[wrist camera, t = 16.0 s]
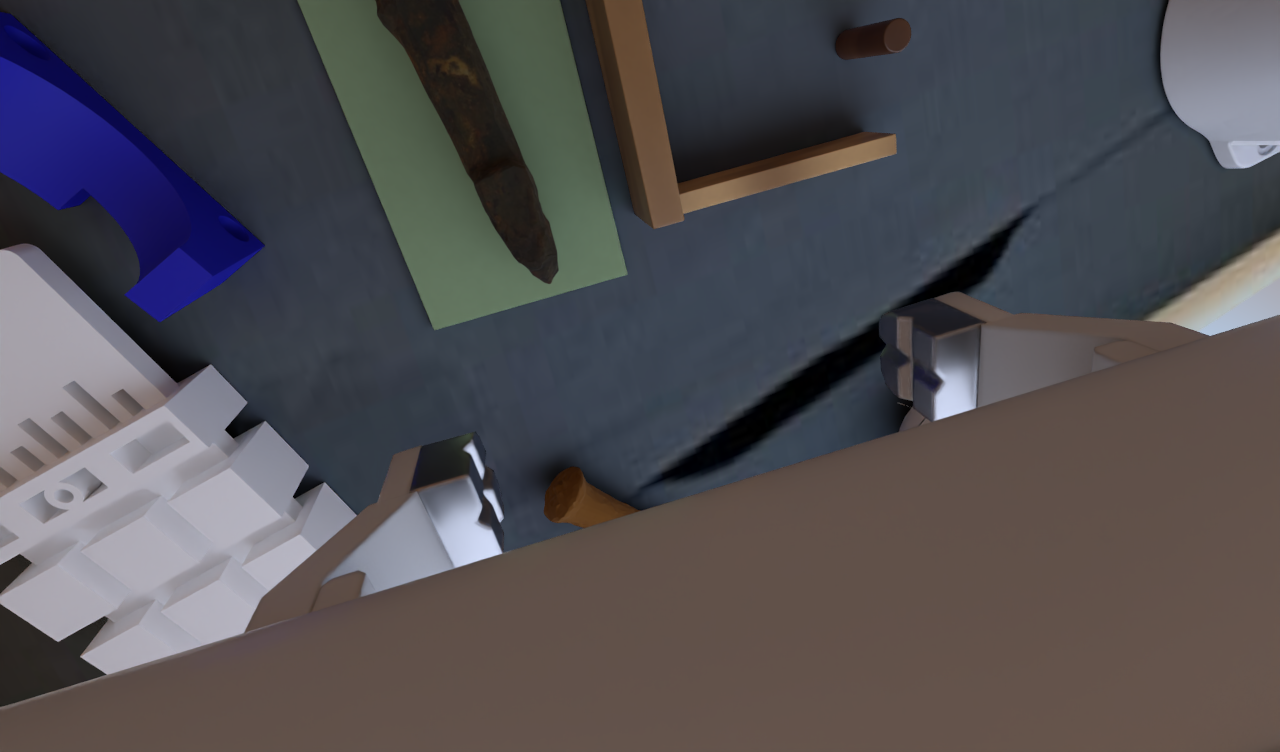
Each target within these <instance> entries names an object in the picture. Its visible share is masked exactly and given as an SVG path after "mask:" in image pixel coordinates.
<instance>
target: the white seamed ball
mask: <svg viewBox="0 0 1280 752" xmlns="http://www.w3.org/2000/svg"><path fill="white" fill-rule="evenodd" d="M897 403H898V402H897ZM899 404H901V403H899ZM903 405H904V404H903ZM908 407H909V406H908ZM929 422H930V421H929V420H928V419H926V418H925V417H924V416H922V415H921V414H920V413H918V412H917V411H916V410H914V409H913V407H912V408H911V410H910V411H909V412H908V413H907V415H906V416H905V418H904V420H903V422H902V424H901V427H900V429H899V432H900V431H903V430H907V429H910V428H913V427H916V426H920V425H923V424H926V423H929Z"/></svg>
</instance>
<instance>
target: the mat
mask: <svg viewBox="0 0 1280 752" xmlns="http://www.w3.org/2000/svg"><path fill="white" fill-rule="evenodd" d="M297 1H298V3H299V6H300V8H301V10H302V13H303V15H304V18H305V20H306V23H307V25H308V27H309V30H310V32H311V35H312V37H313V39H314V42H315V44H316V47H317V49H318V51H319V54H320V56H321V59H322V61H323V64H324V66H325V68H326V71H327V73H328V76H329V78H330V80H331V83H332V85H333V88H334V90H335V92H336V95H337V97H338V100H339V102H340V105H341V107H342V109H343V112H344V114H345V117H346V119H347V121H348V124H349V126H350V129H351V131H352V133H353V136H354V138H355V141H356V143H357V146H358V148H359V150H360V153H361V155H362V158H363V160H364V162H365V165H366V167H367V170H368V172H369V174H370V177H371V179H372V182H373V184H374V187H375V189H376V191H377V194H378V196H379V199H380V201H381V203H382V206H383V208H384V211H385V213H386V215H387V218H388V220H389V223H390V225H391V228H392V230H393V232H394V235H395V237H396V240H397V242H398V244H399V247H400V249H401V252H402V254H403V256H404V259H405V261H406V264H407V266H408V269H409V271H410V273H411V276H412V278H413V281H414V283H415V285H416V288H417V290H418V293H419V295H420V297H421V300H422V302H423V305H424V307H425V310H426V312H427V314H428V317H429V319H430V322H431V324H432V326H433V329H434V330H437V329H440V328H444V327H447V326H451V325H454V324H458V323H461V322H465V321H468V320H472V319H475V318H479V317H482V316H485V315H489V314H492V313H496V312H499V311H503V310H506V309H510V308H513V307H517V306H520V305H524V304H527V303H530V302H534V301H537V300H541V299H544V298H548V297H551V296H555V295H558V294H562V293H565V292H569V291H572V290H576V289H579V288H582V287H586V286H589V285H593V284H596V283H600V282H603V281H607V280H610V279H614V278H617V277H621V276H624V275H627V270H626V266H625V262H624V258H623V254H622V250H621V246H620V242H619V238H618V234H617V230H616V226H615V221H614V217H613V213H612V209H611V205H610V201H609V197H608V193H607V189H606V185H605V181H604V177H603V173H602V169H601V165H600V161H599V157H598V153H597V148H596V144H595V140H594V136H593V132H592V128H591V124H590V120H589V116H588V112H587V108H586V104H585V100H584V96H583V92H582V88H581V84H580V80H579V75H578V71H577V67H576V63H575V59H574V55H573V51H572V47H571V43H570V39H569V35H568V31H567V27H566V23H565V19H564V15H563V11H562V7H561V2H560V0H459V2H460V5H461V7H462V9H463V12H464V14H465V16H466V19H467V21H468V23H469V25H470V28H471V30H472V33H473V36H474V38H475V41H476V43H477V45H478V48H479V50H480V52H481V55H482V57H483V59H484V62H485V64H486V67H487V69H488V71H489V74H490V77H491V79H492V82H493V85H494V87H495V90H496V92H497V95H498V98H499V100H500V102H501V105H502V107H503V109H504V112H505V114H506V117H507V119H508V121H509V124H510V126H511V129H512V131H513V133H514V136H515V138H516V141H517V143H518V146H519V148H520V151H521V154H522V156H523V159H524V161H525V164H526V165H527V167H528V169H529V171H530V172H531V174H532V176H533V178H534V181H535V184H536V187H537V189H538V197H539V202H540V204H541V208H542V211H543V213H544V215H545V217H546V218H547V219H548V221H549V222H550V227H551V231H552V234H553V238H554V241H555V245H556V249H557V257H558V268H559V271H558V272H557V274H556V275H555V277H554V278H553V280H552V283H551V284H547V283H544V282H542V281H541V280H540V279H538V278H536V277H535V276H533V275H532V274H531V272H530V271H529V270H528V269H527V268H526V267H525V266H524V265H522V264H521V263H518V261H517V260H516V259H515V258H514V257H513V255H512V254H511V252H510V250H509V249H508V248H507V246H506V245H505V243H504V241H503V240H502V238H501V237H500V236H499V234H498V233H497V231H496V230H495V228H494V226H493V225H492V223H491V221H490V219H489V216H488V215H487V213H486V212H485V210H484V208H483V206H482V203H481V201H480V198H479V196H478V194H477V192H476V189H475V187H474V183H473V181H472V180H471V178H470V177H469V176H468V175H467V173H466V170H465V168H464V166H463V164H462V162H461V160H460V157H459V155H458V153H457V150H456V148H455V146H454V144H453V142H452V140H451V138H450V136H449V134H448V133H447V131H446V128H445V126H444V124H443V123H442V121H441V119H440V117H439V115H438V113H437V111H436V110H435V108H434V106H433V104H432V102H431V100H430V99H429V97H428V95H427V93H426V91H425V89H424V87H423V85H422V83H421V81H420V79H419V77H418V75H417V73H416V70H415V68H414V66H413V64H412V62H411V60H410V58H409V56H408V54H407V53H406V51H405V49H404V47H403V46H402V45H401V44H400V43H399V41H398V40H397V39H396V38H395V37H394V36H393V35H392V34H391V33H390V32H389V31H388V30H387V29H386V28H385V27H384V26H383V24H382V23H381V21H380V19H379V18H378V16H377V5H376V1H375V0H297Z"/></svg>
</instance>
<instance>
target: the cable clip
mask: <svg viewBox="0 0 1280 752" xmlns="http://www.w3.org/2000/svg"><path fill="white" fill-rule="evenodd" d="M0 172H1V173H3V174H5V175H6V176H8V177H10V178H12V179H13V180H15V181H17V182H18V183H20V184H21V185H23V186H25V187H26V188H28V189H29V190H31V191H32V192H34V193H35V194H37V195H38V196H40V197H41V198H42V199H44V200H45V201H47V202H48V203H49V204H51V205H52V206H53V207H55V208H56V209H57V210H61V209H65V208H70V207H74V206H78V205H80V204H82V203H83V202H84V201H85V200H86V199H87V198H88V197H89V196H90V195H91V196H92V197H93V198H94V199H95V200H97V201H98V202H99V203H100V204H101V205H102V206H103V207H104V208H105V209H106V210H107V211H108V212H109V213H110V215H111V216H112V217H113V218H114V219H115V220H116V221H117V223H118V224H119V225H120V226H121V228H122V229H123V230H124V232H125V233H126V235H127V236H128V237H129V239H130V241H131V243H132V244H133V246H134V248H135V251H136V253H137V256H138V259H139V263H140V277H139V280H138V282H137V284H136V285H135V286H134V287H133V288H132V289H131V290H129V291H128V292H127V293H126V294H125V296H126V297H128V298H129V299H130V300H132V301H133V302H134V303H135V304H137V305H138V306H139V307H141V308H142V309H143V310H144V311H146V312H147V313H148V314H150V315H151V316H152V317H153V318H155V319H156V320H157V321H159V322H161V321H163V320H164V319H166V318H167V317H169V316H171V315H172V314H174V313H175V312H177V311H179V310H180V309H182V308H183V307H185V306H187V305H188V304H190V303H191V302H193V301H194V300H196V299H198V298H199V297H201V296H202V295H204V294H206V293H207V292H209V291H210V290H212V289H214V288H215V287H217V286H218V285H220V284H221V283H223V282H224V281H225V280H226V279H227V278H228V277H229V276H231V275H232V274H233V273H234V272H235V271H236V270H238V269H239V268H240V267H241V266H242V265H243V264H245V263H246V262H247V261H248V260H249V259H250V258H252V257H253V256H254V255H255V254H256V253H257V252H259V251H260V250H261V249H262V248H263V247H264V246H265V245H264V244H263V243H262V242H260V241H259V240H258V239H257V238H256V237H255V236H254V235H253V234H252V233H251V232H249V231H248V230H247V229H246V228H245V227H244V226H243V225H242V224H241V223H240V222H239V221H237V220H236V219H235V218H234V217H233V216H232V215H231V214H230V213H229V212H228V211H226V210H225V209H224V208H223V207H222V206H221V205H220V204H219V203H218V202H217V201H215V200H214V199H213V198H212V197H211V196H210V195H209V194H208V193H207V192H206V191H204V190H203V189H202V188H201V187H200V186H199V185H198V184H197V183H196V182H195V181H193V180H192V179H191V178H190V177H189V176H188V175H187V174H186V173H185V172H184V171H183V170H181V169H180V168H179V167H178V166H177V165H176V164H175V163H174V162H173V161H172V160H170V159H169V158H168V157H167V156H166V155H165V154H164V153H163V152H162V151H161V150H159V149H158V148H157V147H156V146H155V145H154V144H153V143H152V142H151V141H150V140H148V139H147V138H146V137H145V136H144V135H143V134H142V133H141V132H140V131H139V130H138V129H136V128H135V127H134V126H133V125H132V124H131V123H130V122H129V121H128V120H127V119H125V118H124V117H123V116H122V115H121V114H120V113H119V112H118V111H117V110H116V109H114V108H113V107H112V106H111V105H110V104H109V103H108V102H107V101H106V100H105V99H103V98H102V97H101V96H100V95H99V94H98V93H97V92H96V91H95V90H94V89H93V88H91V87H90V86H89V85H88V84H87V83H86V82H85V81H84V80H83V79H82V78H80V77H79V76H78V75H77V74H76V73H75V72H74V71H73V70H72V69H71V68H69V67H68V66H67V65H66V64H65V63H64V62H63V61H62V60H61V59H60V58H58V57H57V56H56V55H55V54H54V53H53V52H52V51H51V50H50V49H49V48H48V47H46V46H45V45H44V44H43V43H42V42H41V41H40V40H39V39H38V38H37V37H35V36H34V35H33V34H32V33H31V32H30V31H29V30H28V29H27V28H26V27H24V26H23V25H22V24H21V23H20V22H19V21H18V20H17V19H16V18H15V17H13V16H12V15H11V14H8V13H3V12H0Z"/></svg>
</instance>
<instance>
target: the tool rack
mask: <svg viewBox="0 0 1280 752" xmlns="http://www.w3.org/2000/svg"><path fill="white" fill-rule="evenodd" d="M585 1H586V5H587V9H588V14H589V18H590V22H591V27H592V31H593V35H594V40H595V44H596V49H597V53H598V57H599V62H600V66H601V70H602V75H603V79H604V83H605V88H606V92H607V96H608V101H609V105H610V109H611V114H612V118H613V122H614V127H615V131H616V135H617V140H618V144H619V148H620V153H621V157H622V161H623V166H624V170H625V174H626V179H627V183H628V187H629V192H630V196H631V200H632V205H633V209H634V214H635V215H636V216H638V217H639V218H640V219H641V220H643V221H644V222H645V223H647V224H648V225H649V226H650V227H652V228H653V229H656V228H660V227H663V226H667V225H670V224H674V223H677V222H681V221H684V215H683V214H684V213H688V212H691V211H695V210H698V209H702V208H705V207H709V206H712V205H716V204H719V203H723V202H727V201H730V200H734V199H737V198H741V197H744V196H748V195H751V194H755V193H759V192H762V191H766V190H769V189H773V188H776V187H780V186H783V185H787V184H790V183H794V182H798V181H801V180H805V179H808V178H812V177H815V176H819V175H822V174H826V173H830V172H833V171H837V170H840V169H844V168H847V167H851V166H854V165H858V164H862V163H865V162H869V161H872V160H876V159H879V158H883V157H886V156H890V155H893V154H896V153H897V152H896V134H890V133H874V132H862V133H858V134H855V135H851V136H847V137H844V138H840V139H837V140H833V141H829V142H826V143H822V144H819V145H815V146H811V147H808V148H804V149H800V150H797V151H793V152H790V153H786V154H782V155H779V156H775V157H772V158H768V159H764V160H761V161H757V162H753V163H750V164H746V165H743V166H739V167H735V168H732V169H728V170H725V171H721V172H717V173H714V174H710V175H706V176H703V177H699V178H696V179H692V180H688V181H685V182H681V183H678V184H677V179H676V174H675V169H674V163H673V158H672V153H671V148H670V143H669V138H668V133H667V127H666V122H665V117H664V112H663V107H662V102H661V96H660V91H659V86H658V81H657V76H656V71H655V66H654V60H653V55H652V50H651V45H650V40H649V35H648V30H647V24H646V19H645V14H644V9H643V4H642V0H585ZM910 38H911V28H910V25H909V23H908V22H907V21H906V20H904V19H902V18H896V19H892V20H887V21H883V22H879V23H874V24H870V25H865V26H861V27H857V28H852V29H848V30H845V31H843V32H842V33H841V34H840V35H839V37H838V38H837V41H836V52H837V54H838V56H839V57H840V58H842V59H844V60H849V59H856V58H864V57H871V56H878V55H885V54H892V53H898V52H900V51H902V50H903V49H904V48H905V47H906V46H907V45H908V43H909V41H910Z"/></svg>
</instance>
